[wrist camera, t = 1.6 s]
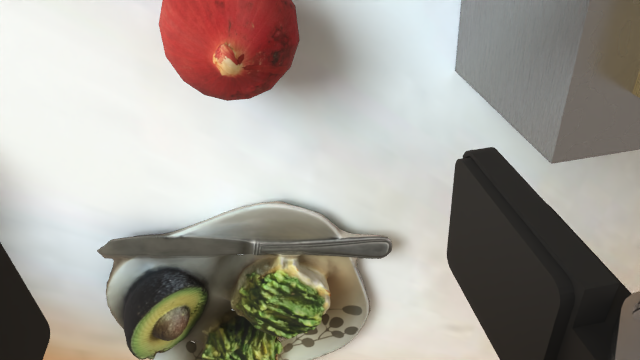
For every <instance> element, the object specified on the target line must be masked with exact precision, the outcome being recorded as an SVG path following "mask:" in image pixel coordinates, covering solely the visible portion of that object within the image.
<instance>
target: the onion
mask: <svg viewBox="0 0 640 360" xmlns="http://www.w3.org/2000/svg"><path fill="white" fill-rule="evenodd" d="M159 27H160V32H161V36H162V41H163V46H164V50H165V55H166V57H167V59H168V60H169V61H170V63H171V64H172V66H173V67H174V68H175V70H176V71H177V73H178V74H179V75H180V77H181V78H182V79H183V81H184V82H186V83H187V84H189V85H190V86H192V87H193V88H195V89H196V90H198V91H199V92H201V93H202V94H204V95H207V96H211V97H215V98H219V99H223V100H227V101H228V100H239V99H250V98H252V97H254V96H257V95H259V94H261V93H263V92H265V91H268V90H270V89H271V88H272V87H273V86H274V85H275V84H276V83H277V82H278V80H279V79H280V78H281V77H282V76H283V75H284V74H285V73H286V72H287V70H288V69H289V68H290V67H291V64H292V61H293V58H294V55H295V52H296V49H297V46H298V43H299V32H298V24H297V17H296V9H295V5H294V3H293V2H292V0H163V2H162V8H161V14H160V20H159Z"/></svg>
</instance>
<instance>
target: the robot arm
mask: <svg viewBox="0 0 640 360" xmlns="http://www.w3.org/2000/svg"><path fill="white" fill-rule="evenodd" d="M447 259H448V264H449V267H450V269H451V271H452V273H453V275H454V276H455V278H456V280H457V282H458V284H459V286H460V287H461V289H462V291H463V293H464V295H465V297H466V298H467V300H468V302H469V304H470V306H471V308H472V309H473V311H474V313H475V315H476V317H477V318H478V320H479V322H480V324H481V326H482V328H483V329H484V331H485V333H486V335H487V337H488V339H489V340H490V342H491V344H492V346H493V348H494V349H495V351H496V353H497V355H498V357H499V359H500V360H640V292H636V293H633V294H631V293H630V292H629V291H628V289H627V288H626V287H625V286H624V285H623V284H622V283H621V282H620V281H619V280H618V279H617V278H616V277H615V275H614V274H613V273H612V272H611V271H610V270H609V269H608V268H607V267H606V266H605V265H604V264H603V263H602V261H601V260H600V259H599V258H598V257H597V256H596V255H595V254H594V253H593V252H592V251H591V250H590V249H589V247H588V246H587V245H586V244H585V243H584V242H583V241H582V240H581V239H580V238H579V237H578V236H577V235H576V233H575V232H574V231H573V230H572V229H571V228H570V227H569V226H568V225H567V224H566V223H565V222H564V221H563V219H562V218H561V217H560V216H559V215H558V214H557V213H556V212H555V211H554V210H553V209H552V208H551V207H550V206H549V205H548V204H547V203H545V201H544V200H543V199H542V198H541V197H540V196H539V195H538V194H537V193H536V192H535V191H534V190H533V188H532V187H531V186H530V185H529V184H528V183H527V182H526V181H525V180H524V179H523V178H522V177H521V176H520V174H519V173H518V172H517V171H516V170H515V169H514V168H513V167H512V166H511V165H510V164H509V163H508V161H507V160H506V159H505V158H504V157H503V156H502V155H501V154H500V153H499V152H498V151H497V150H496V149H495V148H493V147H490V148H483V149H477V150H470V151H466V152H465V153H464V155H463V159H458V160H457V161H456V164H455V173H454V184H453V194H452V205H451V215H450V226H449V236H448V246H447ZM49 339H50V328H49V324H48V322H47V320H46V319H45V317H44V315H43V314H42V312H41V310H40V308H39V307H38V305H37V303H36V302H35V300H34V298H33V297H32V295H31V293H30V292H29V290H28V288H27V287H26V285H25V283H24V281H23V280H22V278H21V276H20V275H19V273H18V271H17V270H16V268H15V266H14V265H13V263H12V261H11V260H10V258H9V256H8V254H7V253H6V251H5V249H4V248H3V246H2V244H1V243H0V360H43V357H44V354H45V351H46V348H47V346H48V343H49Z"/></svg>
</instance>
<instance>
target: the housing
mask: <svg viewBox="0 0 640 360" xmlns="http://www.w3.org/2000/svg"><path fill="white" fill-rule="evenodd" d="M455 71H456V72H457V73H458V74H459V75H460V76H461V77H462V78H463V79H464V80H465V81H466V82H467V83H468V84H469V85H470V86H471V87H472V88H473V89H474V90H476V91H477V92H478V93H479V94H480V95H481V96H482V97H483V98H484V99H485V100H486V101H487V102H488V103H489V104H490V105H491V106H492V107H493V108H494V109H495V110H496V111H497V112H498V113H499V114H500V115H501V116H502V117H503V118H505V119H506V120H507V121H508V122H509V123H510V124H511V125H512V126H513V127H514V128H515V129H516V130H517V131H518V132H519V133H520V134H521V135H522V136H523V137H524V138H525V139H526V140H527V141H528V142H529V143H530V144H531V145H532V146H534V147H535V148H536V149H537V150H538V151H539V152H540V153H541V154H542V155H543V156H544V157H545V158H546V159H547V160H548V161H549V162H550V163H551V164H552V163H558V162H564V161H570V160H577V159H583V158H589V157H595V156H601V155H607V154H614V153H620V152H626V151H632V150H638V149H640V0H462V1H461V12H460V23H459V34H458V45H457V56H456V67H455Z"/></svg>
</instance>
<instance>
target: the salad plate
mask: <svg viewBox="0 0 640 360" xmlns="http://www.w3.org/2000/svg"><path fill="white" fill-rule="evenodd" d="M391 250H392V243H391V240H390V239H389V238H388V237H385V236H381V235H361V234H352V233H348V232H346V231H343V230H341V229H339V228H338V227H337V226H336V225H334V224H333V223H332V222H331V221H330V220H329V219H327V218H326V217H325V216H324V215H322V214H320V213H318V212H314V211H311V210H308V209H305V208H302V207H298V206H294V205H290V204H287V203H285V202H281V201H275V202H265V203H259V204H254V205H250V206H244V207H240V208H236V209H233V210H231V211H228V212H224V213H221V214H219V215H217V216H215V217H212V218H210V219H207V220H205V221H202V222H199V223H196V224H194V225H191V226H189V227H186V228H183V229H180V230H177V231H174V232H170V233H166V234H158V235H143V236H135V237H127V238H119V239H113V240H110V241H109V242H108V243H107V244H106V245H105V246H103V247H101V248H100V249H99V250H97V251H98V253H99V254H101V255H102V256H103V257H104V258H111V259H113V260H114V264H113V268H112V271H111V273H110V277H109V280H108V282H107V289H106V297H107V304H108V307H109V308H110V311H111V313H112V315H113V316H114V318H115V319H116V321H117V322H118V323H119V325H120V326H121V327H122V328H123V329H124V332H125V336H126V341H127V346H128V348H129V350H130V351H131V352H132V354H133V355H134V356H135V357H137V358H138V359H146V358H149V359H153V360H313V359H315V358H318V357H321V356H323V355H326V354H328V353H331V352H334V351H336V350H338V349H340V348H342V347H343V346H345V345H346V344H348V343H349V342H350V341H351V340H352V339H353V338H354V337H355V336H356V335H357V334H358V332H359V331H360V329H361V328H362V326H363V324H364V323H365V321H366V318H367V316H368V314H369V312H370V303H369V302H370V301H369V299H368V297H367V294H366V290H365V286H364V283H363V279H362V277H361V276H360V273H359V271H358V269H357V259H358V258H372V259H373V258H377V259H379V258H383V257H385V256H387V255H388V254H389V253H390V252H391ZM237 254H244V255H237ZM231 309H233V310H235V311H232V310H231ZM279 337H284V338H285V339H286V340H284V341H282V342H280V341H279V340H278V338H279ZM191 341H194V342H195V343H193V342H191Z"/></svg>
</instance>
